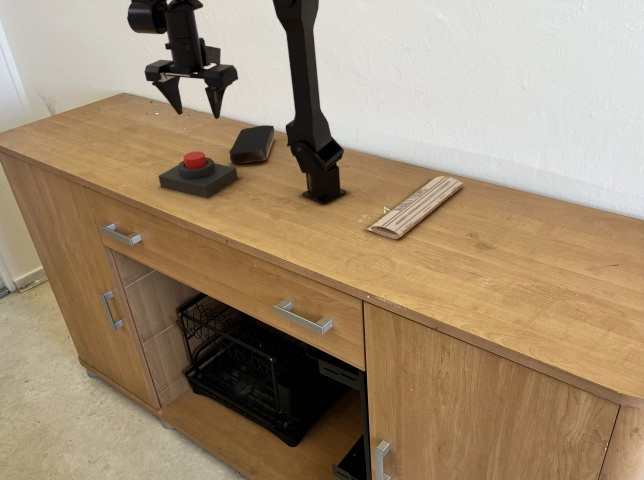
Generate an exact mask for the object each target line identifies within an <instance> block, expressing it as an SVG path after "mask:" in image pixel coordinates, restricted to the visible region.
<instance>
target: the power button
mask: <svg viewBox="0 0 644 480" xmlns="http://www.w3.org/2000/svg"><path fill="white" fill-rule="evenodd" d="M205 157H206V153H204V151H203V152H202V151H191V152H187V153H186V154H183V161H184V162H185V167H186V168H189V169H197V168H201V167H203V166H205V165H206V164H207V163H206V158H205Z"/></svg>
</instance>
